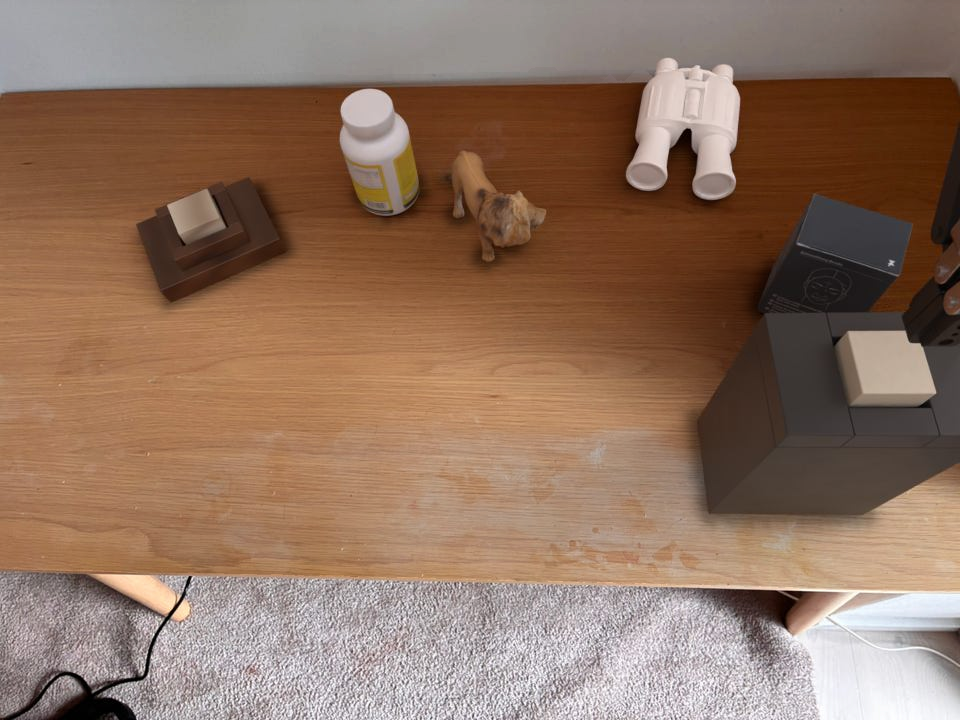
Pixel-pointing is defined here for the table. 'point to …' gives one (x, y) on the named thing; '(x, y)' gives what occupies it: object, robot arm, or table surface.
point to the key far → (196, 216)
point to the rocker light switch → (211, 242)
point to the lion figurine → (491, 206)
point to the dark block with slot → (820, 424)
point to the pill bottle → (378, 153)
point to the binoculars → (687, 106)
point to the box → (836, 260)
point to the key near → (883, 370)
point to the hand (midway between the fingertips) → (923, 331)
